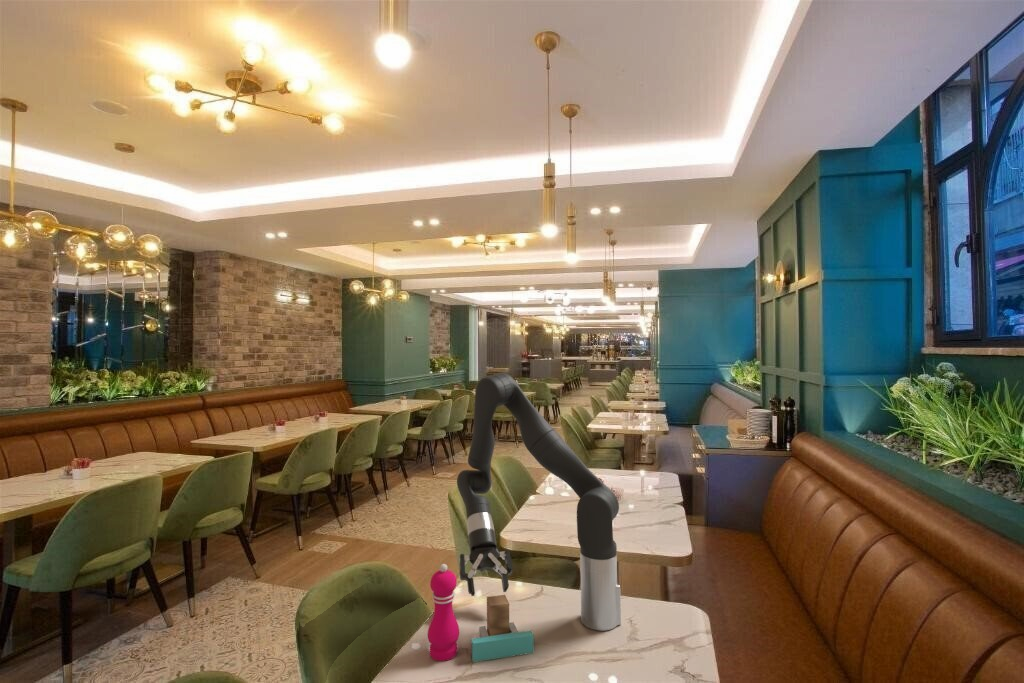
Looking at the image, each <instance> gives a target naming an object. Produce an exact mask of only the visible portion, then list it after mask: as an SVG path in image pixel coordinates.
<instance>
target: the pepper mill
mask: <svg viewBox="0 0 1024 683" xmlns="http://www.w3.org/2000/svg"><path fill="white" fill-rule="evenodd" d="M457 583H458V582H457V576H456V574H455V573H454V572H453V571H451V570H449V569H448V565H447V564H446V563H441V565H440V566H439V570H437V571H435V573H434V574H432V576H431V578H430V583H429V585H430V590H431V591H432V601H433V602H434V612H433V616H432V619H431V621H430V623H429V626H428V630H427V640H428V642H429V643H430V645H429V655H430V658H432V660H434V661H439V662H444V661H445V662H446V661H448V660H451V659H453V658H454V657H456V655H457V653H458V643H457V641H458V639H459V638H460V627H459V623H458V621H457V618H456V617H455V613H454V610H453V608H454V607H453V603H454V602H453V601H454V600H455V591H454V590H455V589H456V588H457Z"/></svg>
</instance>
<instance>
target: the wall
mask: <svg viewBox="0 0 1024 683" xmlns="http://www.w3.org/2000/svg"><path fill="white" fill-rule="evenodd" d="M534 639H535V638H534V634H533V631H532V630H526V631H518V632H516V633H509V634H502V635H495V636H487V637H480V638H479V637H475V638H471V660H472V662H473V663H475V662H476V661H477V662H482V661H481V660H483V661H489V660H488V659H490V660H495V658H497V659H502V657H504V658H508V657H507V656H510V657H514V656H513V655H517V656H520V655H519V654H524V655H526V654H525V653H530V654H534V653H533V652H535V651H534V647H535V645H534V644H535V643H534Z"/></svg>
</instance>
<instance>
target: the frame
mask: <svg viewBox="0 0 1024 683" xmlns="http://www.w3.org/2000/svg"><path fill="white" fill-rule="evenodd" d="M516 632H519V630H518V628H517V626H516V624H515V622H514V621H512V622H509V633H516ZM509 633H507V634H509ZM500 635H502V634H500ZM487 636H489V635H488V632H487V625H482V626H478V638H480V637H487ZM493 636H495V635H493Z"/></svg>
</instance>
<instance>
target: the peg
mask: <svg viewBox="0 0 1024 683" xmlns="http://www.w3.org/2000/svg"><path fill="white" fill-rule="evenodd" d="M509 623H510V601H508V598H507V596H506V594H502V595H501V594H500V595H492V596H491V595H490V596H486V629H487V632H488V635H489V636H493V635H500V634H507V633H509Z"/></svg>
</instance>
